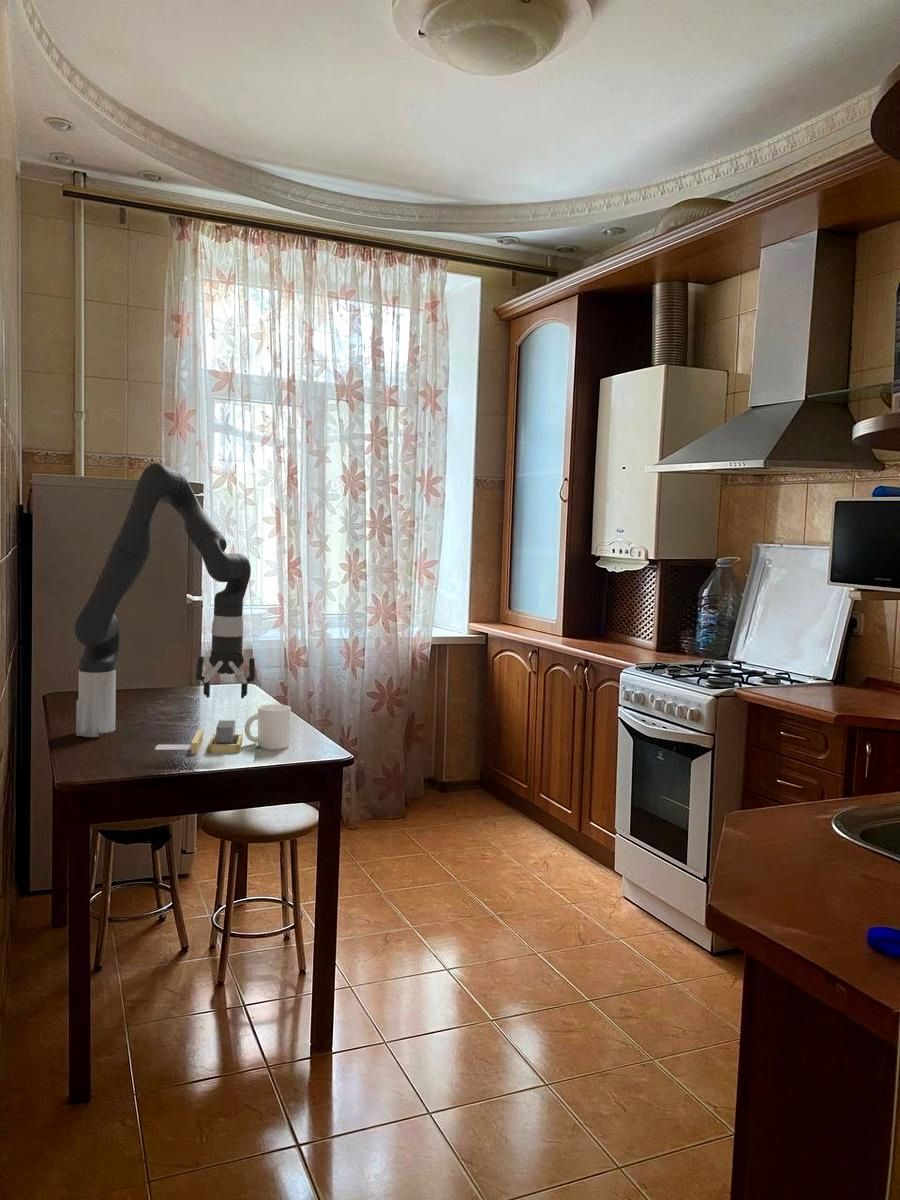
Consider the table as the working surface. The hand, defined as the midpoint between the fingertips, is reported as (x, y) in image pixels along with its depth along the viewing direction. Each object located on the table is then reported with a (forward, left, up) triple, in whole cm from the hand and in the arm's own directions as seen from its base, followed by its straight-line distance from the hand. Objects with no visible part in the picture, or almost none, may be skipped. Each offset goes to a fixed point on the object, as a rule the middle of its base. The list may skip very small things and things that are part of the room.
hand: (225, 697), depth 234 cm
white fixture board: (-6, 0, -14) cm, 15 cm away
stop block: (0, 0, -13) cm, 13 cm away
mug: (+10, +5, -14) cm, 18 cm away
